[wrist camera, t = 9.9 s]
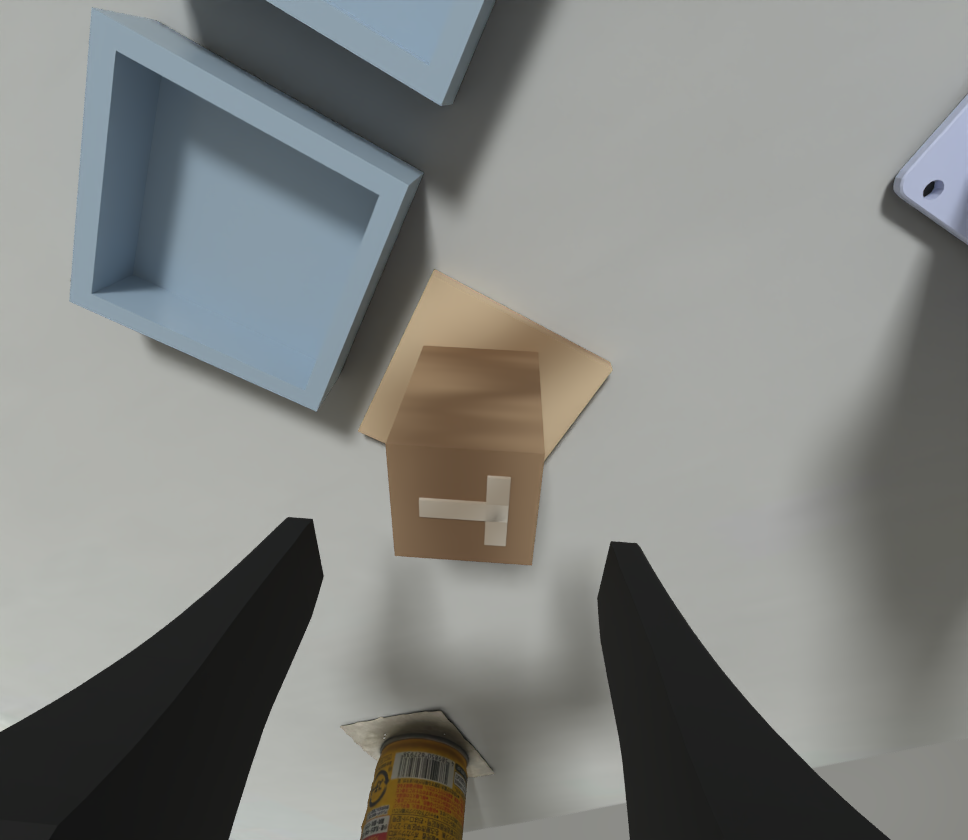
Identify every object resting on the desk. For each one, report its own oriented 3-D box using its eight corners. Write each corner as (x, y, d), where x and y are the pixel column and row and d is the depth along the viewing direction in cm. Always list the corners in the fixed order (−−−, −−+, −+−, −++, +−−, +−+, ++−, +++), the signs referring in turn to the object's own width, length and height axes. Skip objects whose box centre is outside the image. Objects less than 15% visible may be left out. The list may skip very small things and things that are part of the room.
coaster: (610, 362, 19) (612, 369, 18) (514, 491, 22) (514, 500, 22) (434, 269, 17) (431, 274, 17) (361, 423, 21) (357, 431, 20)
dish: (423, 172, 16) (408, 185, 14) (338, 377, 20) (316, 411, 18) (156, 19, 14) (91, 7, 12) (122, 277, 18) (69, 301, 16)
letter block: (538, 351, 18) (545, 456, 13) (528, 446, 20) (531, 568, 15) (423, 345, 18) (384, 446, 13) (426, 439, 20) (394, 558, 15)
